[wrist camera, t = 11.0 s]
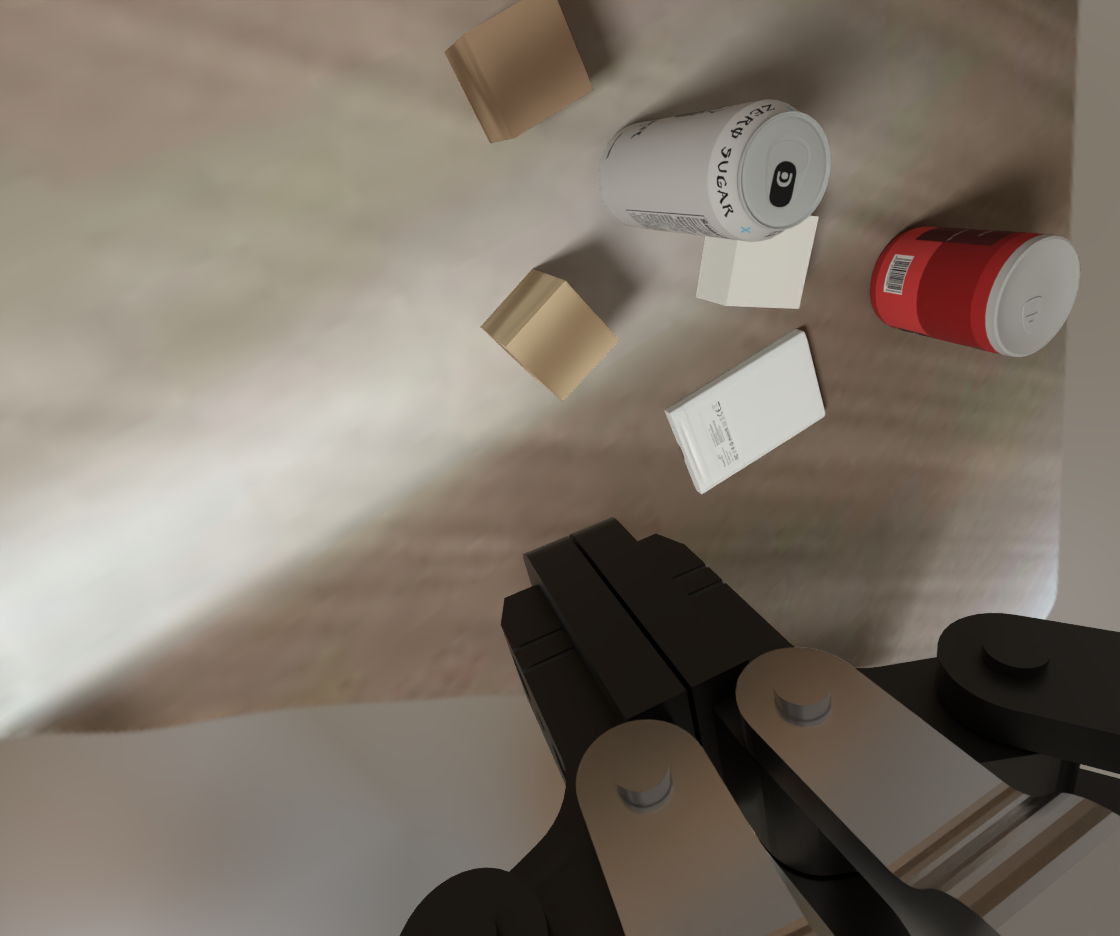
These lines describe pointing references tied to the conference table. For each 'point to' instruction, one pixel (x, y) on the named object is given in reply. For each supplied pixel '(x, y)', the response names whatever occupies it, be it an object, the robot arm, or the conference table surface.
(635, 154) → the energy drink can
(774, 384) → the external hard drive
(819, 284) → the conference table surface
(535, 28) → the walnut block
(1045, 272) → the canned food
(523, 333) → the oak block
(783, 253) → the pale grey block
